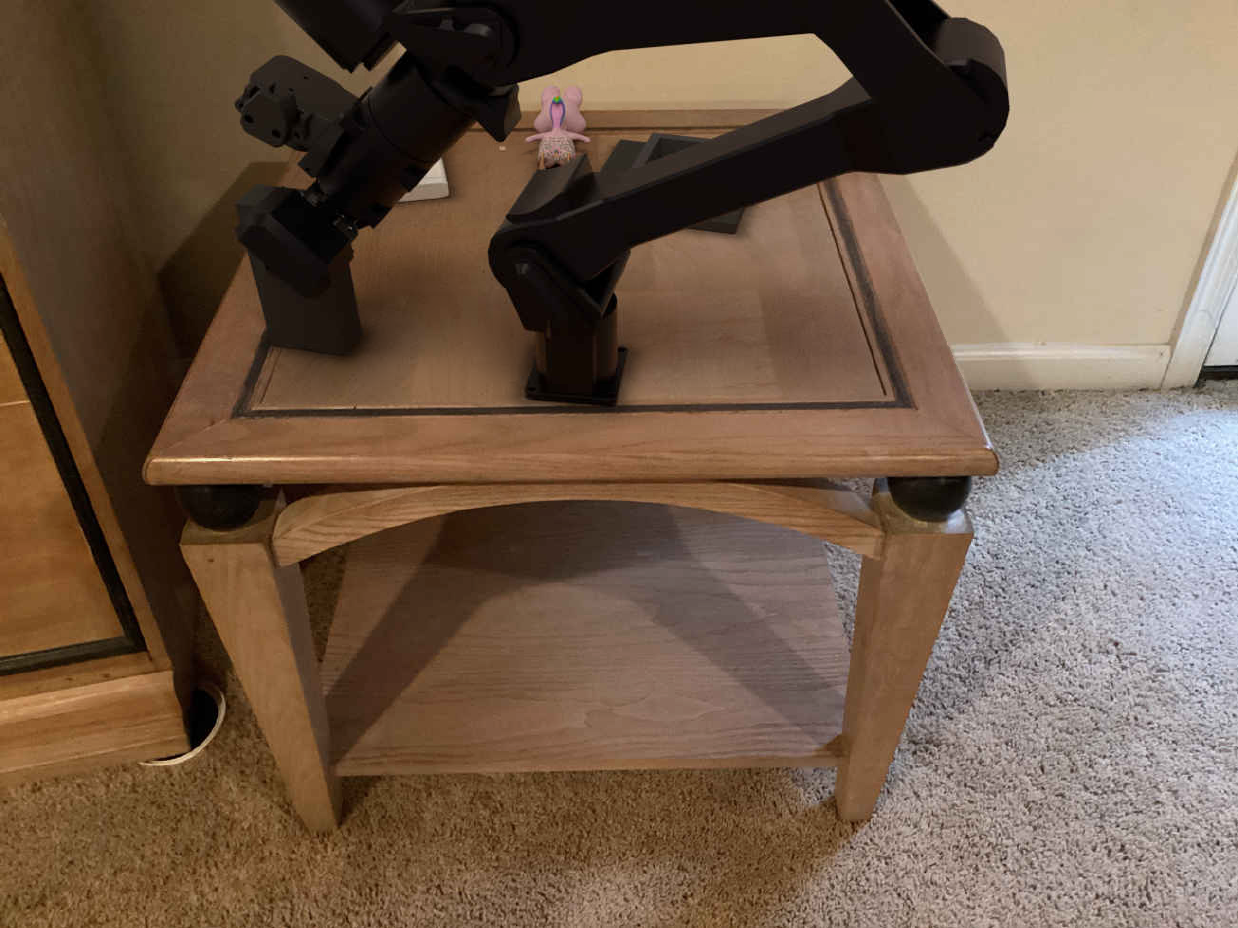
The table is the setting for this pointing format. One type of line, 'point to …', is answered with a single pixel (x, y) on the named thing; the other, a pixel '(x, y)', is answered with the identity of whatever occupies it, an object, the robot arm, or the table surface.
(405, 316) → the table surface
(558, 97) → the rabbit figure
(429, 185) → the hard drive
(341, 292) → the black tall block
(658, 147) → the base pad
